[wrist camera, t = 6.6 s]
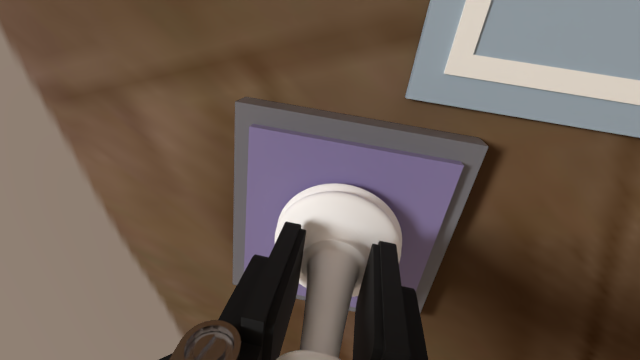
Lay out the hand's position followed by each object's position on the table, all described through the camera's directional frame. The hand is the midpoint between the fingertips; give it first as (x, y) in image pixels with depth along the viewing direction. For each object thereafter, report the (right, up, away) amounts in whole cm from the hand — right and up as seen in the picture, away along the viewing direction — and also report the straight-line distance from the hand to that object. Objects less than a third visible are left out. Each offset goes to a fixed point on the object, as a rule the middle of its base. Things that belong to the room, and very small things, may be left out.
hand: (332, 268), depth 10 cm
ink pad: (0, +2, +3) cm, 3 cm away
